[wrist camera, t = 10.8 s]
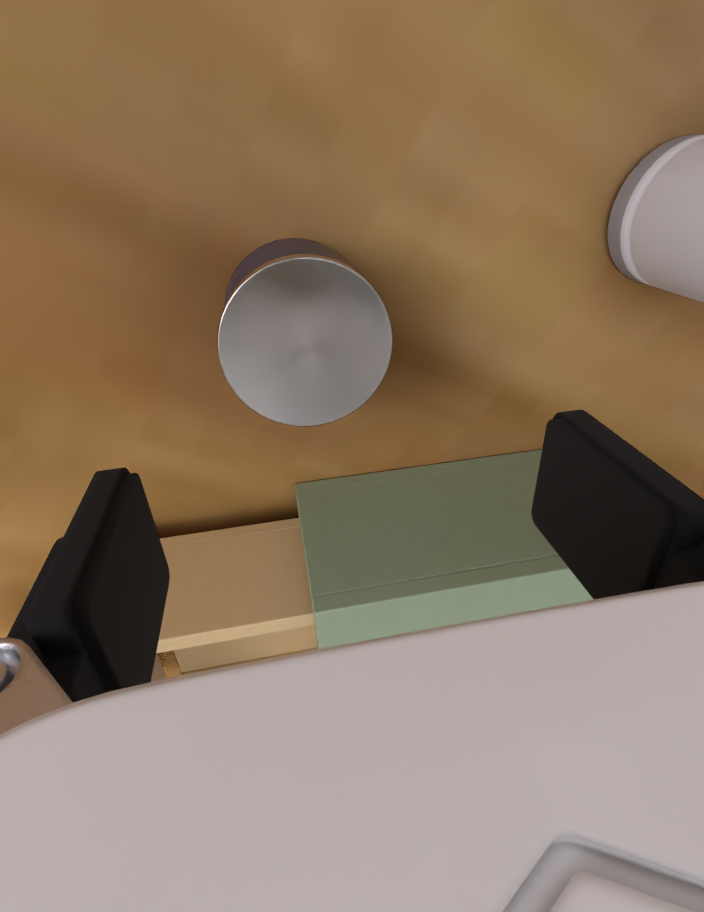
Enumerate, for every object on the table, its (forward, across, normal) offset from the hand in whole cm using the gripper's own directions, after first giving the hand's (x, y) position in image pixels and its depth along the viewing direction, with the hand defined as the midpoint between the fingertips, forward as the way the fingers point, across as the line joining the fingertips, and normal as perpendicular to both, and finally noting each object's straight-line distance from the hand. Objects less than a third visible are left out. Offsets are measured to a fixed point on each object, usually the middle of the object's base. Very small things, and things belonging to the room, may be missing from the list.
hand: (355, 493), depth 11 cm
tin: (+14, 0, -1) cm, 14 cm away
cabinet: (+14, -7, +16) cm, 22 cm away
